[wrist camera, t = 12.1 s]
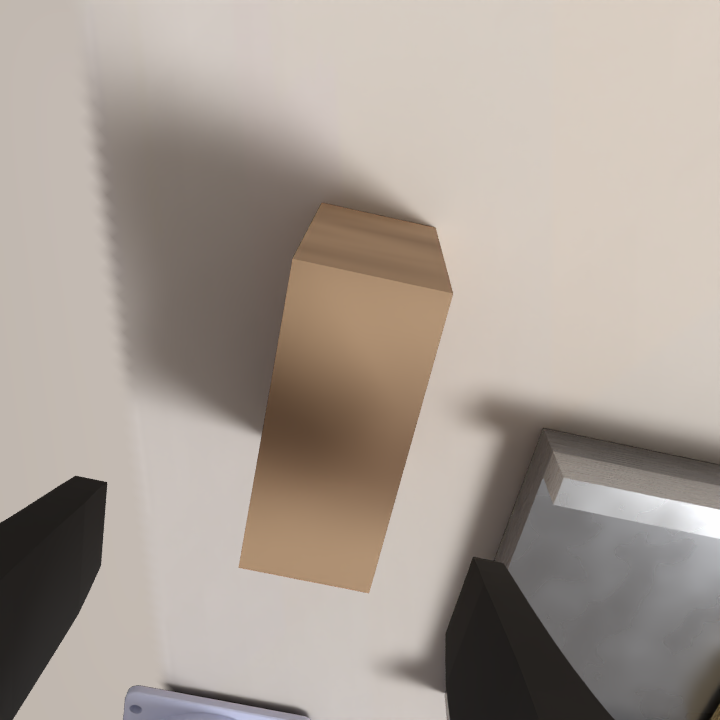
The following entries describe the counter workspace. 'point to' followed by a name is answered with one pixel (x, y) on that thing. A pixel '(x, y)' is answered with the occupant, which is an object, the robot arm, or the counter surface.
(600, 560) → the slot plate
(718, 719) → the brass chip
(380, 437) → the tan rectangular block
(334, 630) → the counter surface
